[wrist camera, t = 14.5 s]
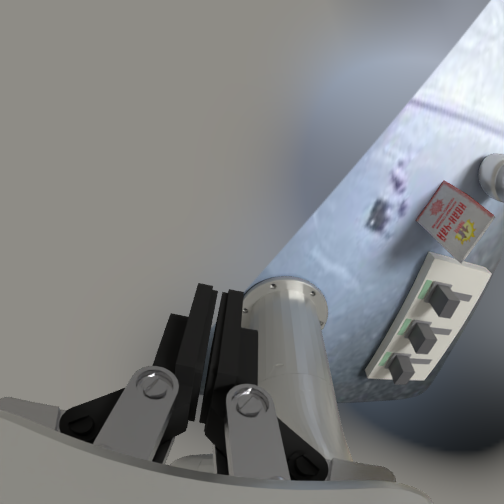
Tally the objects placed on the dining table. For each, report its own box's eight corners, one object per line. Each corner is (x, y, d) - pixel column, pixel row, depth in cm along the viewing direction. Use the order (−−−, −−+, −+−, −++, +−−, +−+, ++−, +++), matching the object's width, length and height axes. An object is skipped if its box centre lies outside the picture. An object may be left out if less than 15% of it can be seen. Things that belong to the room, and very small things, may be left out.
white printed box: (459, 195, 36) (501, 224, 28) (432, 233, 39) (468, 270, 30) (443, 180, 36) (486, 207, 27) (415, 220, 38) (451, 256, 30)
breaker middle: (420, 339, 45) (429, 356, 42) (403, 337, 45) (411, 354, 41) (431, 321, 43) (441, 338, 40) (414, 319, 43) (423, 336, 40)
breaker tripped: (441, 304, 42) (452, 320, 38) (423, 301, 42) (434, 318, 38) (451, 284, 40) (464, 300, 37) (434, 280, 40) (446, 297, 36)
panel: (420, 372, 52) (424, 380, 50) (364, 369, 51) (367, 378, 49) (485, 267, 41) (491, 274, 40) (428, 251, 40) (435, 258, 39)
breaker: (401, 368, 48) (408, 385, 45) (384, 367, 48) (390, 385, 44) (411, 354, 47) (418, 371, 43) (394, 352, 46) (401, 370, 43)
